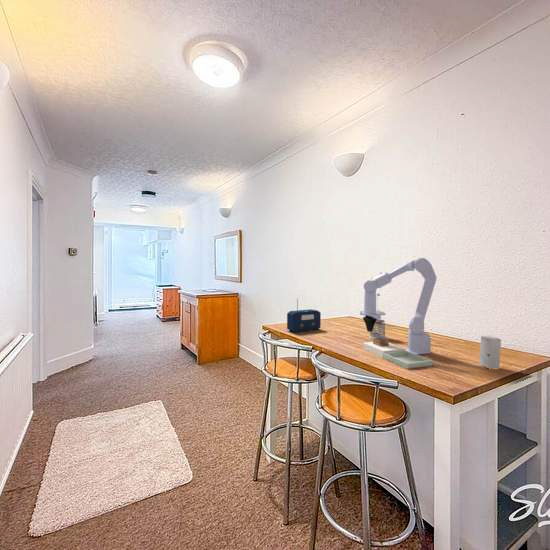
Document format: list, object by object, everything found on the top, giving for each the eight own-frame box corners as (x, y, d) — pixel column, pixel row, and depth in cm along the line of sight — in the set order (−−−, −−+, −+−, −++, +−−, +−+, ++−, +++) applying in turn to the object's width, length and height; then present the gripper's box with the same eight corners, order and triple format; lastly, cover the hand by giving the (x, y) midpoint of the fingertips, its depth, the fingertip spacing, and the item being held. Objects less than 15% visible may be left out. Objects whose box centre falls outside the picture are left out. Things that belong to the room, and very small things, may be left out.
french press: (388, 340, 164) (389, 294, 164) (366, 339, 166) (367, 294, 165) (385, 336, 174) (385, 292, 173) (364, 335, 176) (364, 292, 175)
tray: (406, 355, 136) (406, 350, 136) (433, 365, 122) (433, 360, 122) (382, 358, 132) (382, 353, 132) (407, 369, 118) (407, 363, 118)
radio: (293, 333, 180) (294, 300, 179) (286, 330, 188) (286, 298, 187) (321, 329, 190) (322, 298, 189) (313, 327, 198) (313, 297, 197)
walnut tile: (381, 343, 146) (381, 337, 146) (388, 345, 141) (388, 340, 141) (372, 343, 145) (373, 338, 144) (379, 346, 140) (379, 341, 140)
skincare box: (478, 364, 124) (479, 335, 123) (489, 364, 124) (490, 335, 123) (489, 369, 118) (489, 338, 117) (500, 369, 117) (501, 338, 117)
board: (383, 346, 150) (383, 340, 150) (405, 355, 136) (405, 348, 136) (362, 348, 146) (363, 342, 146) (383, 357, 132) (383, 351, 132)
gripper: (355, 302, 156) (354, 328, 157) (372, 306, 142) (371, 335, 143) (366, 302, 158) (366, 328, 159) (384, 306, 145) (384, 334, 145)
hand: (369, 331), depth 151 cm, fingers closed
